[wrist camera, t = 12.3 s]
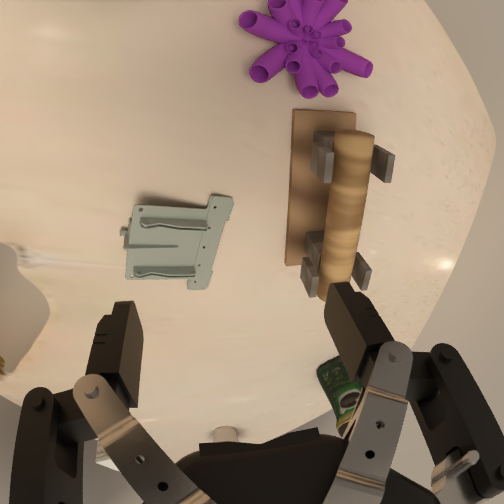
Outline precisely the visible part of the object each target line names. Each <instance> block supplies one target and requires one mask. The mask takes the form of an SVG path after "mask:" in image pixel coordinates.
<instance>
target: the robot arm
mask: <svg viewBox="0 0 504 504" xmlns="http://www.w3.org/2000/svg"><path fill="white" fill-rule="evenodd" d="M324 319H325V323H326V325H327V328H328V330H329V332H330V334H331V337H332V339H333V341H334V343H335V346H336V348H337V350H338V352H339V355H340V357H341V359H342V362H343V364H344V366H345V369H346V371H347V373H348V375H349V378H350V380H351V382H352V383H355V382H359V381H361V382H362V385H363V387H362V389H361V392H360V395H359V398H358V400H357V403H356V406H355V409H354V411H353V414H352V416H351V419H350V421H349V424H348V426H347V428H346V430H345V432H344V435H343V437H342V438H339V437H336V436H331V435H326V434H319V431H318V428H317V427H316V428H312V429H306V430H301V431H296V432H291V433H287V434H285V435H283V436H280V437H278V438H275V439H273V440H271V441H268V442H265V443H263V444H251V443H241V442H232V441H224V442H213V443H199V451H196V452H193V453H191V454H189V455H187V456H185V457H183V458H182V459H180V460H179V461H178V462H176V463H174V462H173V461H172V460H171V459H170V458H169V457H168V456H167V455H166V453H165V452H164V451H163V450H162V449H161V448H160V447H159V446H158V444H157V443H156V442H155V441H154V440H153V439H152V438H151V436H150V435H149V434H148V433H147V432H146V430H145V429H144V428H143V427H142V426H141V424H140V423H139V422H138V421H137V420H136V419H135V418H134V417H133V416H132V415H131V414H130V412H129V408H138V395H139V382H140V370H141V360H142V350H143V329H142V325H141V322H140V319H139V316H138V313H137V309H136V306H135V303H134V301H119V302H115V304H114V307H113V311H112V315H104V316H103V318H102V319H101V320H100V322H99V323H98V324H97V328H96V332H95V336H94V340H93V344H92V348H91V352H90V356H89V360H88V365H87V369H86V374H85V376H83V377H81V378H80V379H79V380H78V381H77V382H76V383H75V385H74V388H73V389H70V390H67V391H64V392H60V393H56V394H52V393H51V391H50V390H48V389H47V388H44V387H37V388H34V389H32V390H31V391H29V392H28V393H27V395H26V396H25V398H24V401H23V405H22V410H21V415H20V420H19V425H18V431H17V436H16V442H15V449H14V456H13V464H12V473H11V483H10V497H9V504H83V499H82V498H83V495H82V494H83V491H82V490H83V480H82V478H83V449H84V441H88V440H92V439H96V438H99V442H100V444H101V445H102V447H103V449H104V450H105V451H106V453H107V454H108V456H109V457H110V459H111V460H112V461H113V463H114V464H115V466H116V467H117V468H118V470H119V471H120V472H121V474H122V475H123V476H124V478H125V479H126V480H127V481H128V483H129V484H130V485H131V486H132V488H133V489H134V490H135V491H136V493H137V494H138V495H139V496H140V497H141V499H142V500H143V501H144V502H143V503H142V504H481V503H483V502H485V501H487V500H489V499H491V498H493V497H494V496H496V495H498V494H500V493H501V492H503V491H504V436H503V433H502V431H501V429H500V427H499V425H498V423H497V421H496V419H495V417H494V415H493V413H492V411H491V409H490V407H489V405H488V404H487V402H486V400H485V398H484V396H483V394H482V392H481V391H480V389H479V387H478V385H477V383H476V381H475V380H474V378H473V376H472V375H471V373H470V371H469V369H468V368H467V366H466V364H465V362H464V361H463V359H462V357H461V356H460V354H459V353H458V351H457V350H456V349H455V348H454V347H452V346H451V345H449V344H444V343H440V344H437V345H435V346H434V347H433V348H432V350H431V351H430V352H412V351H411V350H410V348H409V347H408V346H406V345H405V344H403V343H401V342H398V341H395V340H394V338H393V337H392V335H391V333H390V332H389V330H388V328H387V327H386V325H385V323H384V322H383V320H382V319H381V317H380V316H379V314H378V312H377V311H376V309H374V306H373V304H372V303H371V301H370V299H369V298H368V297H366V296H365V295H364V294H362V293H361V292H355V291H354V290H353V288H352V286H351V285H350V283H349V282H348V281H344V282H336V283H330V285H329V288H328V293H327V298H326V304H325V309H324ZM408 401H409V402H410V404H411V407H412V409H413V411H414V414H415V416H416V418H417V421H418V423H419V426H420V428H421V431H422V433H423V436H424V438H425V440H426V443H427V446H428V448H429V451H430V453H431V456H432V459H433V461H434V464H435V467H434V469H433V471H432V474H431V487H432V491H430V490H428V489H426V488H424V487H423V486H421V485H419V484H417V483H416V482H414V481H412V480H410V479H409V478H407V477H405V476H403V475H401V474H400V473H398V472H396V471H395V470H393V469H391V468H390V466H391V464H392V460H393V457H394V454H395V450H396V447H397V444H398V440H399V436H400V433H401V429H402V425H403V422H404V418H405V414H406V410H407V405H408Z"/></svg>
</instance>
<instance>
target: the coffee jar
mask: <svg viewBox="0 0 504 504" xmlns="http://www.w3.org/2000/svg"><path fill="white" fill-rule="evenodd" d="M317 377H318V379H319V382H320V384H321V386H322V388H323V390H324V392H325V394H326V396H327V397H328V399H329V401H330V403H331V406H332V408H333V410H334V413H335V415H336V418H337V424H336V427H337V431H338V432H339V434H340V436H341V437H343V435H344V432H345V430H346V428H347V426H348V424H349V421H350V419H351V416H352V414H353V411H354V409H355V406H356V403H357V400H358V398H359V395H360V392H361V389H362V387H363V385H362V382H361V381H359V382H355V383H352V382H351V380H350V378H349V375H348V373H347V371H346V369H345V366H344V364H343V362H342V359H341V357H338V358H336V359H334V360H332V361H330V362H328V363H326V364H324V365H323V366H321V367H320V368H319V370H318V371H317Z"/></svg>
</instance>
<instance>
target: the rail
mask: <svg viewBox="0 0 504 504" xmlns="http://www.w3.org/2000/svg"><path fill="white" fill-rule="evenodd" d="M373 146H374V136H373V135H371V134H369V133H366V132H362V131H356V130H348V129H338V130H335V138H334V150H333V152H334V162H333V172H332V182H331V183H330V191H329V200H328V208H327V217H326V225H325V233H324V240H323V247H322V255H321V262H320V268H319V281H318V287H317V293H316V294H317V296H318V297H319V298H320V299H321V300H323V301H325V302H326V298H327V293H328V288H329V285H330V283H336V282H344V281H348V282H349V283H350V279H351V275H352V270H353V265H354V261H355V256H356V251H357V246H358V241H359V236H360V230H361V225H362V219H363V214H364V208H365V202H366V196H367V189H368V183H369V176H370V169H371V162H372V154H373Z"/></svg>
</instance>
